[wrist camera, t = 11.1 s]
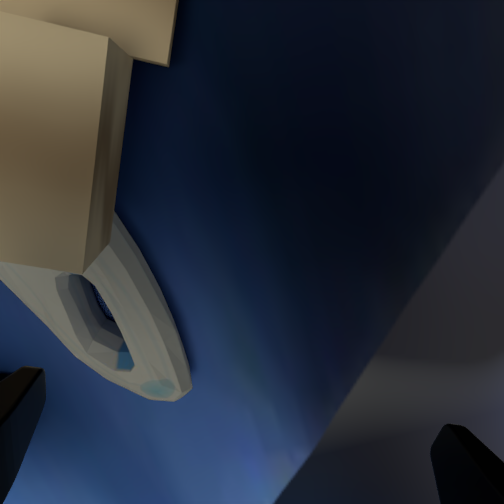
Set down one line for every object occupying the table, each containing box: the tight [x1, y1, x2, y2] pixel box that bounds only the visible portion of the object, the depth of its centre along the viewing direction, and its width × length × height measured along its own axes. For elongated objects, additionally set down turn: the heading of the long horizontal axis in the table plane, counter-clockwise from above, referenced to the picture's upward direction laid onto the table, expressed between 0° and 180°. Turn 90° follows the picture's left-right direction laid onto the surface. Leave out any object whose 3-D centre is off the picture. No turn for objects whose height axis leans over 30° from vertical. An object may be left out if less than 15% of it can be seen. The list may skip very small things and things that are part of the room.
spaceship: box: [0, 211, 193, 401], centre depth 19 cm, size 23×7×4 cm, turn 34°
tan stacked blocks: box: [0, 0, 179, 274], centre depth 13 cm, size 14×6×4 cm, turn 168°
